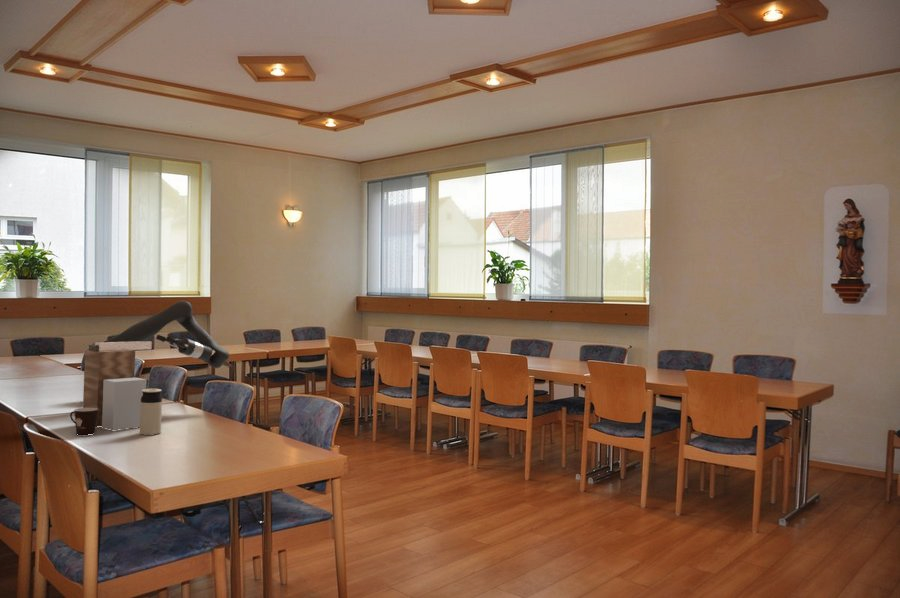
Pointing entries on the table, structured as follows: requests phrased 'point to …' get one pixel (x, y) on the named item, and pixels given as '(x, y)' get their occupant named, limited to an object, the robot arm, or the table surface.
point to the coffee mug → (85, 420)
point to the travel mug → (150, 411)
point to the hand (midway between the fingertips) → (161, 337)
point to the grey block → (122, 402)
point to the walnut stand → (104, 374)
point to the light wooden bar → (124, 345)
